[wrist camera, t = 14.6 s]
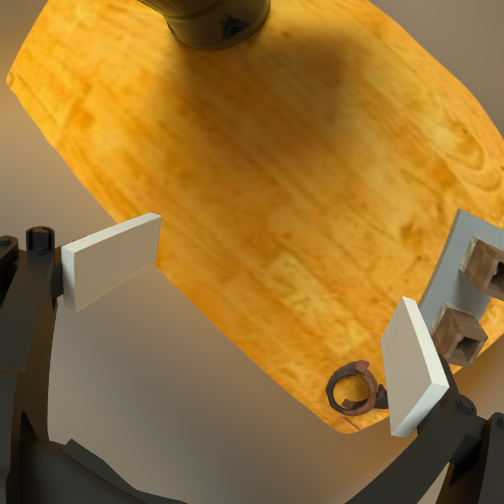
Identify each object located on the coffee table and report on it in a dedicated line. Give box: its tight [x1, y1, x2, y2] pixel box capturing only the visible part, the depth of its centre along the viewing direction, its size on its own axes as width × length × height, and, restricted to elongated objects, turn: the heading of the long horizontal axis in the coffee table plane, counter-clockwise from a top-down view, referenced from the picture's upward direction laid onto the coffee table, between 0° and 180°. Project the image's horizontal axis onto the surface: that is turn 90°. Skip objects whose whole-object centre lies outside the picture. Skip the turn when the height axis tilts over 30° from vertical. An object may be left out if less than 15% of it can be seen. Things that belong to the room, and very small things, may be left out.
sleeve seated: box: [459, 235, 504, 301], centre depth 31 cm, size 5×5×8 cm
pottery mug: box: [326, 360, 389, 416], centre depth 44 cm, size 12×10×8 cm
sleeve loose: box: [429, 301, 488, 368], centre depth 34 cm, size 5×5×8 cm
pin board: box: [418, 208, 504, 346], centre depth 34 cm, size 20×11×7 cm, turn 165°
